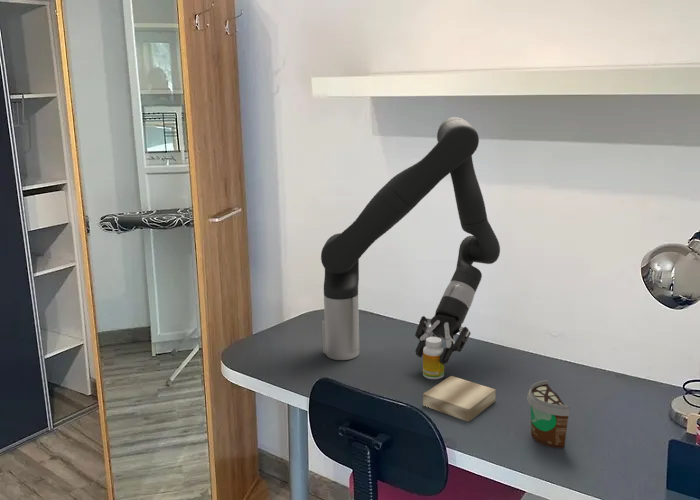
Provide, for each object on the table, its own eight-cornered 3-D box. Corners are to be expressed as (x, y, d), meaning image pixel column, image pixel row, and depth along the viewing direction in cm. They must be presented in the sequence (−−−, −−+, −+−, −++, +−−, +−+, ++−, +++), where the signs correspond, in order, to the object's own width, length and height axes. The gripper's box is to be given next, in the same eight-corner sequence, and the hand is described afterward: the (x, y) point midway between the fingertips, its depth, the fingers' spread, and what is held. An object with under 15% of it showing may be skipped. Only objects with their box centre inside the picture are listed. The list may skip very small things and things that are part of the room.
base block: (423, 405, 154) (423, 393, 153) (450, 387, 163) (451, 375, 162) (468, 421, 146) (469, 409, 146) (495, 401, 155) (495, 389, 154)
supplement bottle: (443, 380, 166) (444, 344, 164) (421, 379, 167) (422, 342, 165) (444, 371, 171) (445, 336, 169) (423, 370, 172) (424, 334, 170)
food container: (517, 422, 146) (519, 380, 143) (544, 421, 146) (547, 379, 143) (537, 453, 134) (540, 408, 131) (567, 451, 134) (570, 406, 132)
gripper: (426, 290, 174) (400, 346, 169) (475, 300, 165) (449, 360, 160) (437, 303, 180) (412, 358, 174) (485, 315, 171) (460, 373, 165)
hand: (430, 359), depth 167 cm, fingers open, 6 cm apart
